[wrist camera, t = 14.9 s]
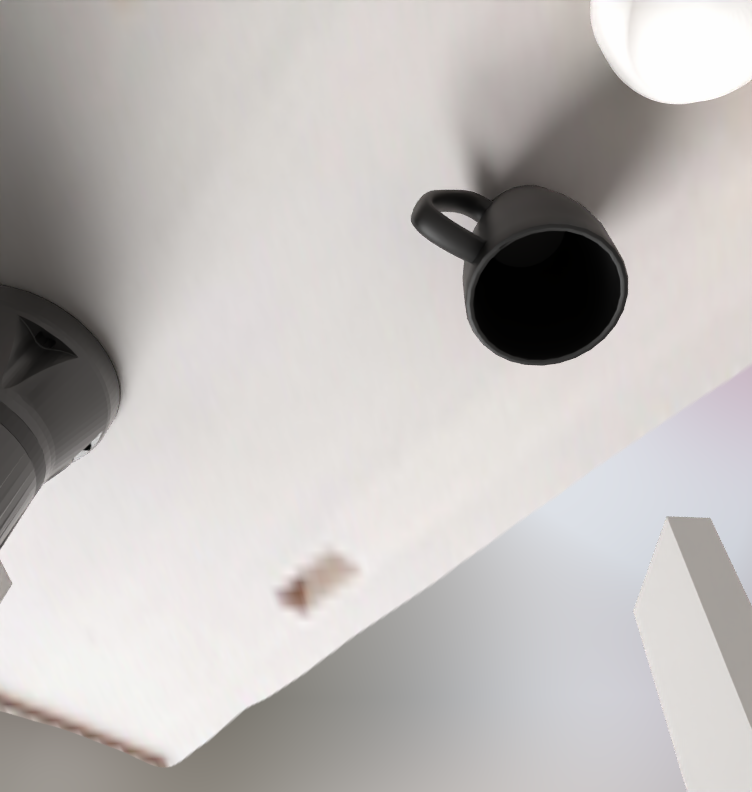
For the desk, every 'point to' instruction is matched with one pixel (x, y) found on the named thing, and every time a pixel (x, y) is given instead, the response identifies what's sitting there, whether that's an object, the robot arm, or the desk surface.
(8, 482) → the robot arm
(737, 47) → the figurine
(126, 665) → the desk surface
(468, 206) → the mug
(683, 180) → the desk surface
